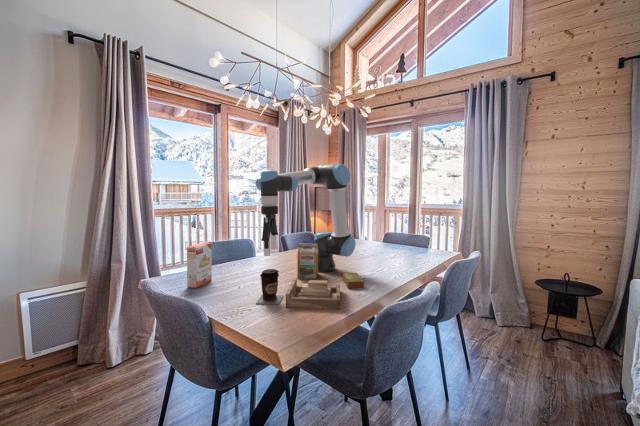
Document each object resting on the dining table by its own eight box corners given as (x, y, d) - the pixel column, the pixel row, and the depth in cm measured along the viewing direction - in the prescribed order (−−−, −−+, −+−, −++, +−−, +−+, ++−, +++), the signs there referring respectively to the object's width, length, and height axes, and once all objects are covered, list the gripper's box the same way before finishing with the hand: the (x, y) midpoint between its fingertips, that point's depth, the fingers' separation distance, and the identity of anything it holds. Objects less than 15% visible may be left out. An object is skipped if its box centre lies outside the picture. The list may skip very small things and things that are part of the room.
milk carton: (318, 273, 180) (318, 242, 178) (316, 279, 169) (316, 245, 168) (300, 273, 181) (300, 241, 179) (297, 278, 170) (297, 245, 169)
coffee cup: (283, 298, 138) (283, 270, 137) (269, 304, 131) (269, 274, 130) (270, 294, 143) (270, 267, 142) (256, 299, 137) (256, 271, 136)
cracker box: (197, 288, 152) (196, 247, 151) (186, 287, 154) (185, 247, 152) (212, 280, 166) (211, 242, 164) (202, 279, 167) (201, 242, 166)
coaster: (262, 296, 142) (262, 294, 142) (283, 296, 142) (283, 295, 142) (256, 304, 133) (256, 302, 132) (278, 305, 132) (278, 303, 132)
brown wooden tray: (293, 289, 152) (293, 278, 151) (340, 291, 150) (340, 279, 149) (285, 307, 129) (285, 293, 129) (339, 309, 128) (339, 295, 127)
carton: (356, 279, 170) (357, 272, 170) (364, 289, 154) (364, 281, 154) (342, 280, 169) (342, 272, 169) (348, 289, 153) (348, 281, 153)
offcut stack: (302, 291, 149) (302, 279, 149) (330, 292, 148) (330, 280, 148) (300, 295, 144) (300, 283, 144) (330, 295, 143) (330, 283, 143)
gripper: (267, 203, 148) (268, 246, 150) (253, 207, 123) (254, 258, 125) (283, 203, 148) (283, 246, 150) (271, 207, 123) (272, 259, 125)
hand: (270, 252), depth 137 cm, fingers open, 13 cm apart
